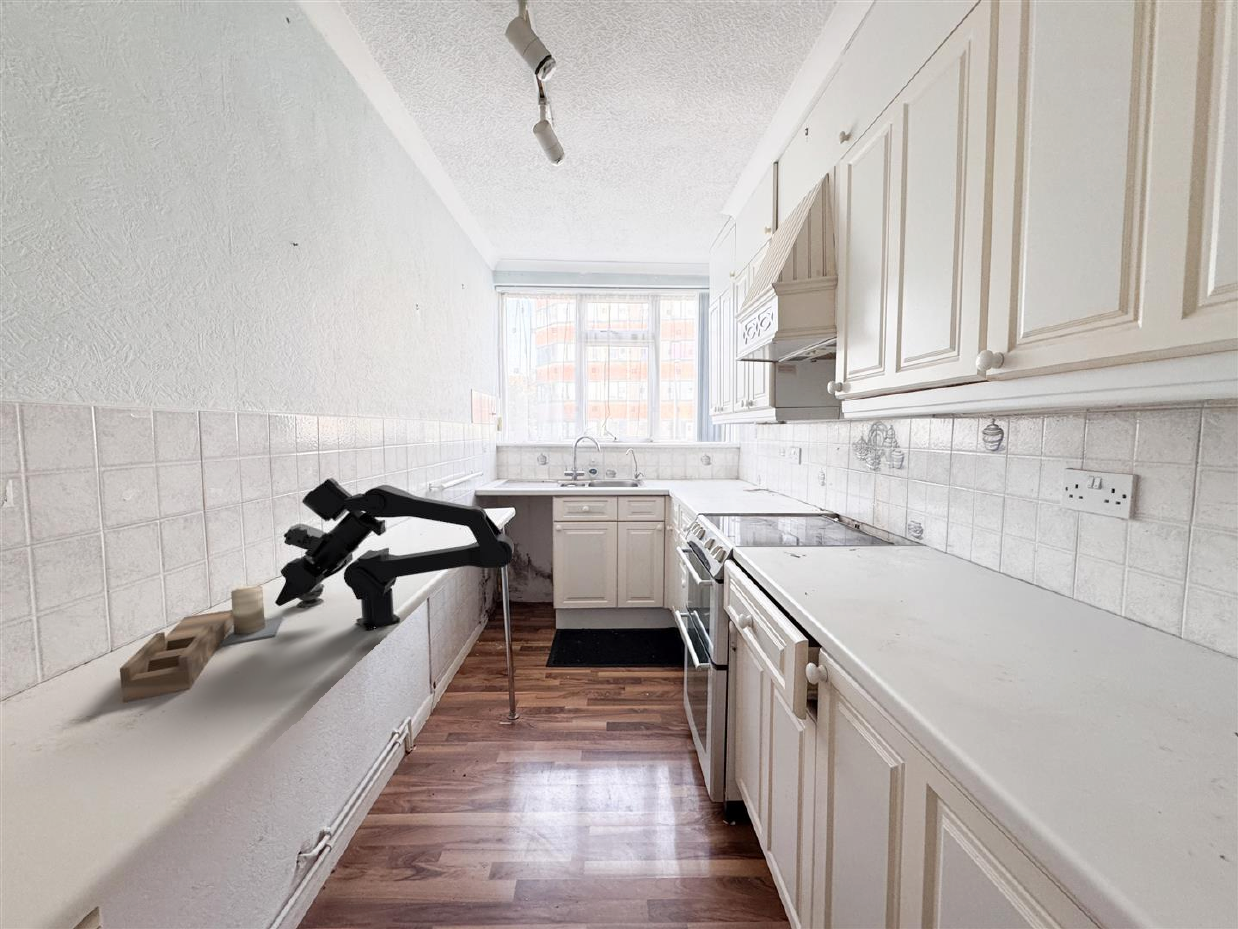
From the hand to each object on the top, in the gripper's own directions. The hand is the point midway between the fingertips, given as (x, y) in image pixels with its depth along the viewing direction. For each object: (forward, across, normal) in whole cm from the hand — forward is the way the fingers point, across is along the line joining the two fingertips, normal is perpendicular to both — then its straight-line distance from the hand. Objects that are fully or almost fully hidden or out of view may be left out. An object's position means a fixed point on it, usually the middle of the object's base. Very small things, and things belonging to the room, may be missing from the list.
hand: (289, 596), depth 95 cm
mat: (+10, 0, 0) cm, 10 cm away
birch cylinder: (+10, 0, -1) cm, 10 cm away
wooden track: (+13, +9, -4) cm, 17 cm away
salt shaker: (+7, -15, +3) cm, 17 cm away
